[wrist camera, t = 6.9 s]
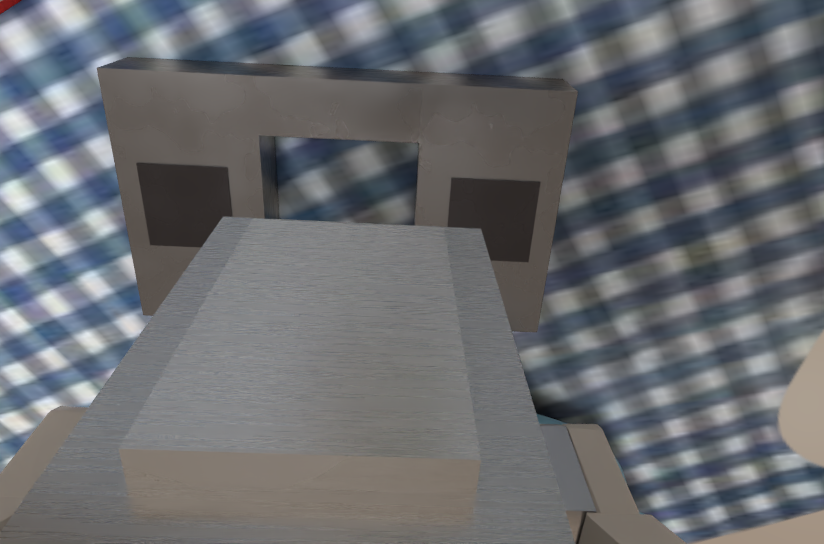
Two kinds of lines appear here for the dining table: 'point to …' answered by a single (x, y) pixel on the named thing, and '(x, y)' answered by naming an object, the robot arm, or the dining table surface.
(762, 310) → the dining table surface
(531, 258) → the grey flat block
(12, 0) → the kitchen timer
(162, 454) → the stepped metal block
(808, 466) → the dining table surface
